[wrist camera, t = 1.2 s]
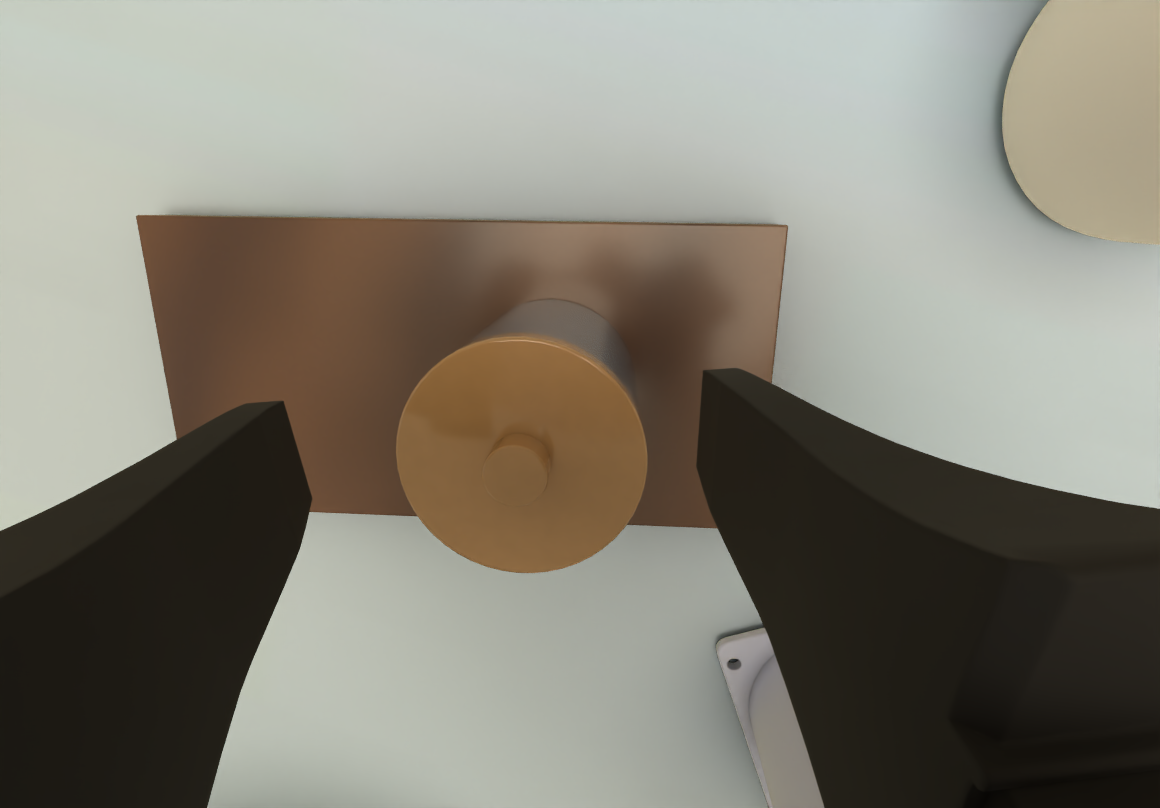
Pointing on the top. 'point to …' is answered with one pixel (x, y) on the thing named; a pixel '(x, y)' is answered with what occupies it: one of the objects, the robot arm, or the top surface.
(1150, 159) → the mug
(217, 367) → the cutting board
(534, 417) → the sugar pot
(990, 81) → the top surface
